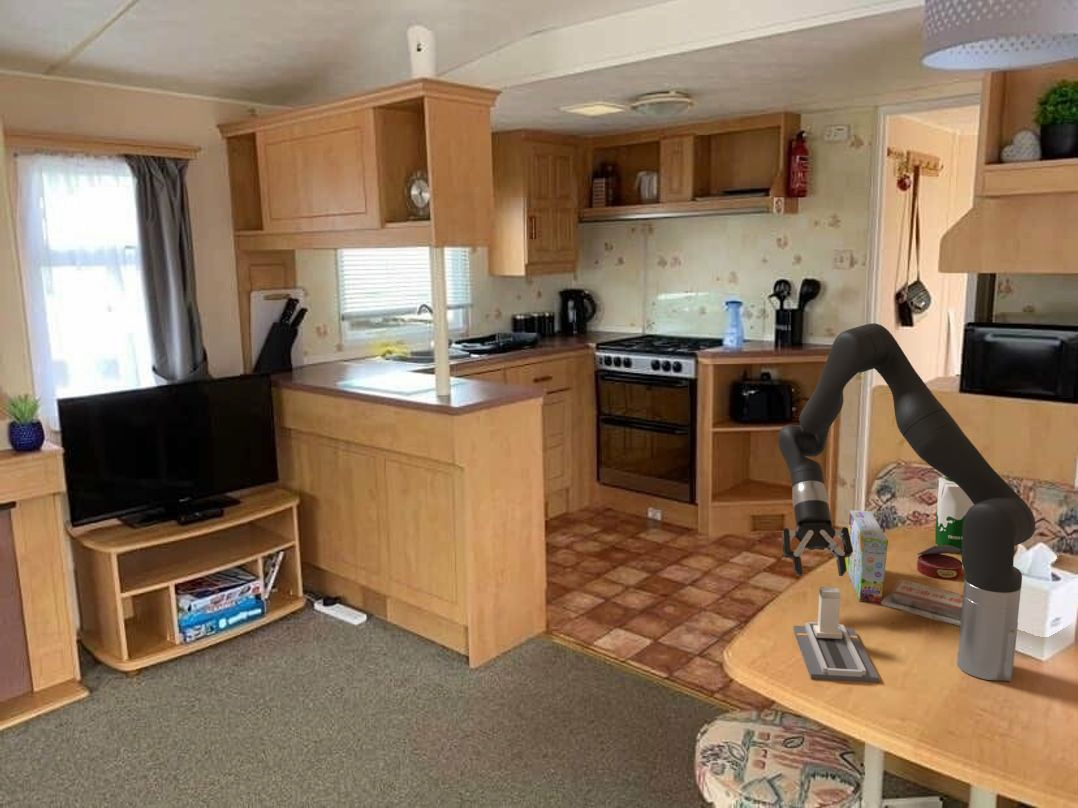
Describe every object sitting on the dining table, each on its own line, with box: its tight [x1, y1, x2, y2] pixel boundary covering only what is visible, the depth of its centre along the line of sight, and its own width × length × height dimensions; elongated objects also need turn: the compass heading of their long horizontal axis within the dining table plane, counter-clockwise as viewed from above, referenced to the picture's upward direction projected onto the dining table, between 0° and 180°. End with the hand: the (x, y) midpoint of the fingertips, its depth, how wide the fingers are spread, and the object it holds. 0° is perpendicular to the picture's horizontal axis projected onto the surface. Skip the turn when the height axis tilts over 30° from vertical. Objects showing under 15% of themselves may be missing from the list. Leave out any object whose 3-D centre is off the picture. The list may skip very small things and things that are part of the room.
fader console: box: [792, 621, 880, 684], centre depth 163 cm, size 12×20×2 cm, turn 172°
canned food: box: [916, 545, 963, 581], centre depth 202 cm, size 11×10×10 cm
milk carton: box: [934, 477, 974, 554], centre depth 216 cm, size 9×9×20 cm
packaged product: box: [880, 579, 963, 627], centre depth 182 cm, size 18×5×10 cm
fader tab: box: [813, 586, 842, 639], centre depth 168 cm, size 5×4×10 cm
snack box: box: [845, 509, 889, 604], centre depth 195 cm, size 21×6×15 cm, turn 168°
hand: (821, 575), depth 178 cm, fingers open, 8 cm apart
